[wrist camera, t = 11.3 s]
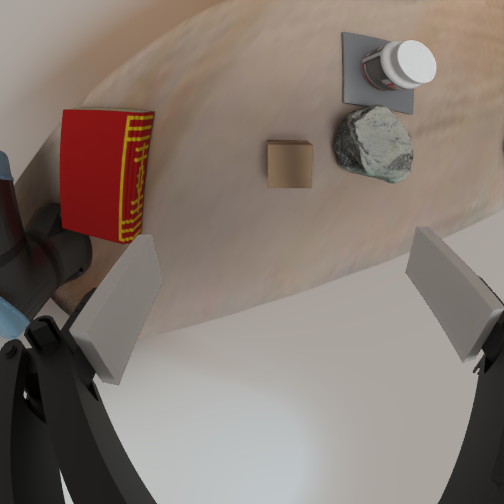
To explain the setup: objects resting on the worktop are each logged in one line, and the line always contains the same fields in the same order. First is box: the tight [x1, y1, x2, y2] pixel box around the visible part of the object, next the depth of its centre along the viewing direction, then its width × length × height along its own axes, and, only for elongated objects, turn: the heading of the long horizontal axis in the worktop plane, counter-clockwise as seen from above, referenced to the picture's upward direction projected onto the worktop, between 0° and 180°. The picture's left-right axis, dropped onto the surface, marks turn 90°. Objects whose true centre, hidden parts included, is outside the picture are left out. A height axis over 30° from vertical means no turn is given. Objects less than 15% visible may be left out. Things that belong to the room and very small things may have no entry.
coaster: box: [342, 32, 414, 115], centre depth 26 cm, size 10×10×1 cm
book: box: [60, 107, 154, 244], centre depth 33 cm, size 18×13×5 cm
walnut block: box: [267, 140, 313, 188], centre depth 32 cm, size 5×5×5 cm
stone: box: [334, 104, 413, 183], centre depth 29 cm, size 10×10×10 cm
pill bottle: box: [362, 40, 436, 91], centre depth 22 cm, size 6×6×10 cm
